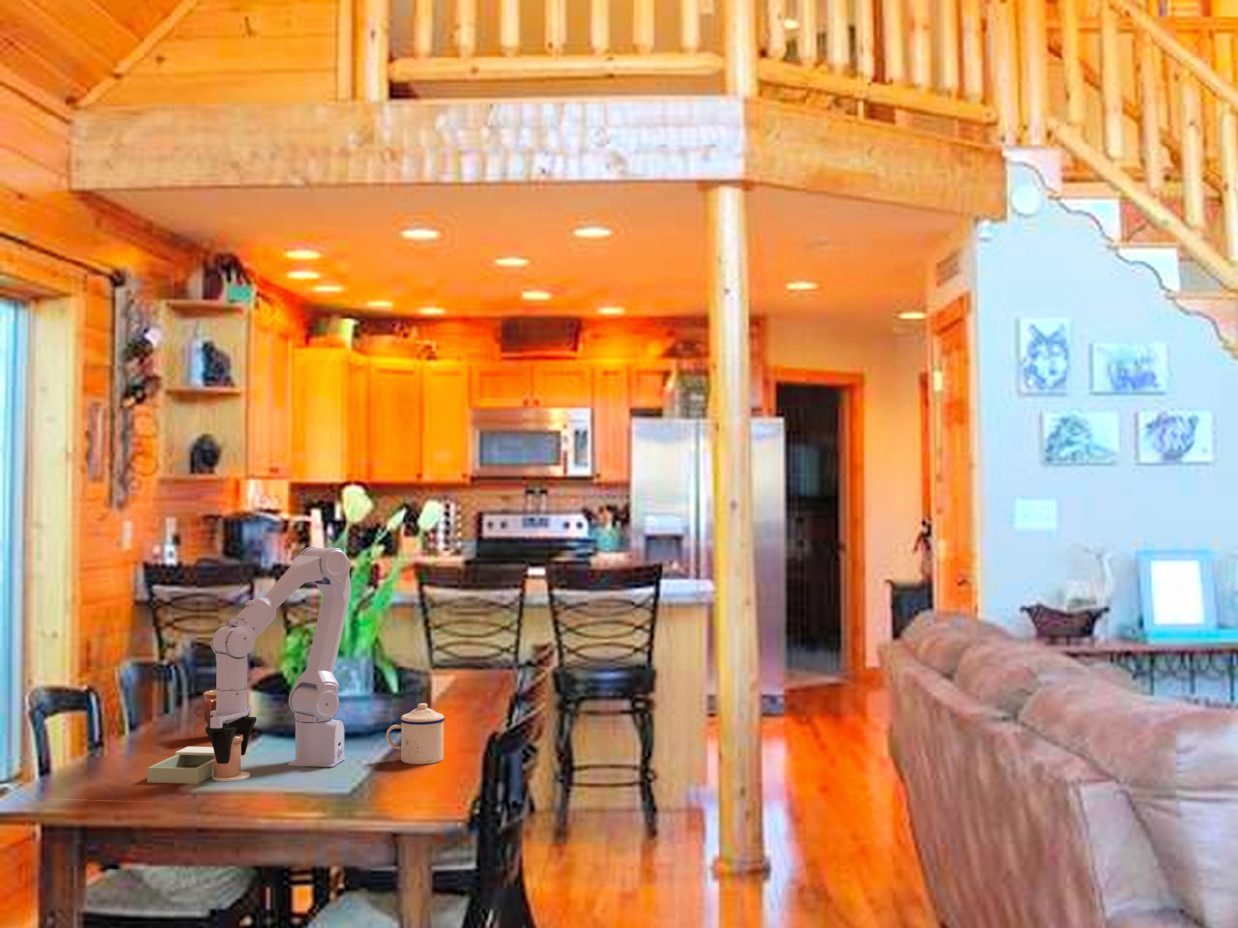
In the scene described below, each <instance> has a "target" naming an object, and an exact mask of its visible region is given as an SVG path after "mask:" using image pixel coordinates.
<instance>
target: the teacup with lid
mask: <svg viewBox="0 0 1238 928" xmlns="http://www.w3.org/2000/svg"><path fill="white" fill-rule="evenodd" d="M445 719H446V718H445V716H444V714H443V713H440V712H436V711H435V710H433V709H432V708H430V707H429V708H428V703H426V702H423V703H422V702H421V703H418V704H417V708H414V709H412V710H411V711H410V712H408V713H405V714H403V715H401V717H400V719H399V721H400V722H401V723H400V724H393V725H391V726H390V727H389V728H388V729H387V730H386V736H385V737H386V738H385V739H386V740H387V741H386V742H387V743H388V745H389V746H390V747H391V748H393V749H395V750H400V752H401V753H400V759H401V762H403V763H404V764H409V765H431V764H436V763H440V762H441V761H443V760H444V721H445ZM396 729H401V730H400V731H401V735H400V736H401V743H400V745H397V744H395V743H394V742H393V741H392V739H391V732H392V730H396Z"/></svg>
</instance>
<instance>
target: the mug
mask: <svg viewBox="0 0 1238 928" xmlns="http://www.w3.org/2000/svg"><path fill="white" fill-rule="evenodd" d="M203 697H204V700H205V701H204V703H203V716H204V721H205V723H206V724H205V728H206V727H207V726H209V725H210V718H212V717H213V716H214V715H210V712H211V711H214V710H216V689H211V690H207V691H205V692H203ZM227 726H228V724H227ZM206 736H207V737H208V735H207V734H206Z"/></svg>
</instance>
